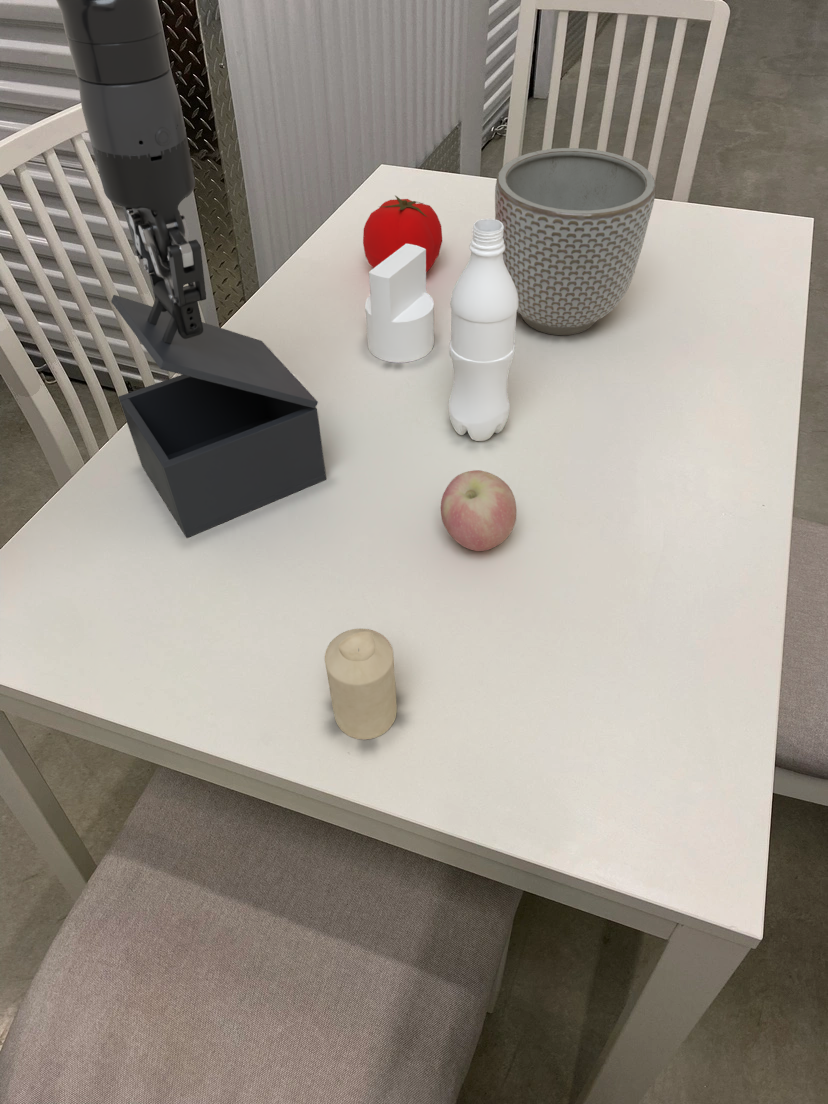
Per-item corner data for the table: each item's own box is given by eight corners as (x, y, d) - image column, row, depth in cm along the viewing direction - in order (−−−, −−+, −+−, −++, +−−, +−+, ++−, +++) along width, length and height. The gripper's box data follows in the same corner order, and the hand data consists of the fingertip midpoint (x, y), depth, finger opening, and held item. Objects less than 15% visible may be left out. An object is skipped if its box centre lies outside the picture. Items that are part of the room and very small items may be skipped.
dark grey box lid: (160, 369, 72) (181, 318, 71) (110, 301, 80) (128, 254, 79) (315, 408, 85) (336, 366, 83) (259, 346, 93) (277, 307, 91)
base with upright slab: (410, 370, 107) (408, 285, 98) (354, 350, 110) (347, 266, 101) (446, 337, 112) (447, 254, 103) (391, 319, 115) (387, 237, 106)
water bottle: (476, 454, 95) (486, 250, 77) (436, 425, 99) (436, 223, 80) (520, 429, 98) (540, 226, 80) (479, 401, 102) (490, 202, 83)
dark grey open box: (186, 538, 87) (163, 467, 79) (142, 466, 95) (117, 396, 87) (326, 479, 92) (317, 409, 85) (273, 416, 100) (261, 347, 93)
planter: (459, 312, 116) (462, 176, 102) (555, 266, 124) (571, 134, 110) (561, 373, 105) (581, 231, 91) (659, 319, 114) (690, 180, 100)
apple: (436, 515, 88) (436, 459, 82) (506, 509, 89) (511, 453, 83) (445, 570, 83) (446, 514, 77) (519, 564, 83) (526, 507, 77)
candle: (366, 675, 74) (359, 606, 67) (410, 711, 72) (407, 643, 64) (321, 713, 72) (308, 646, 64) (364, 752, 69) (356, 686, 62)
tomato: (382, 299, 119) (378, 224, 111) (354, 264, 126) (348, 191, 118) (456, 281, 122) (457, 207, 114) (424, 248, 129) (424, 176, 121)
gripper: (65, 115, 69) (118, 299, 81) (121, 173, 60) (170, 369, 73) (151, 99, 72) (189, 280, 84) (216, 153, 63) (247, 345, 75)
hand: (180, 320), depth 78 cm, fingers closed on dark grey box lid, 5 cm apart
